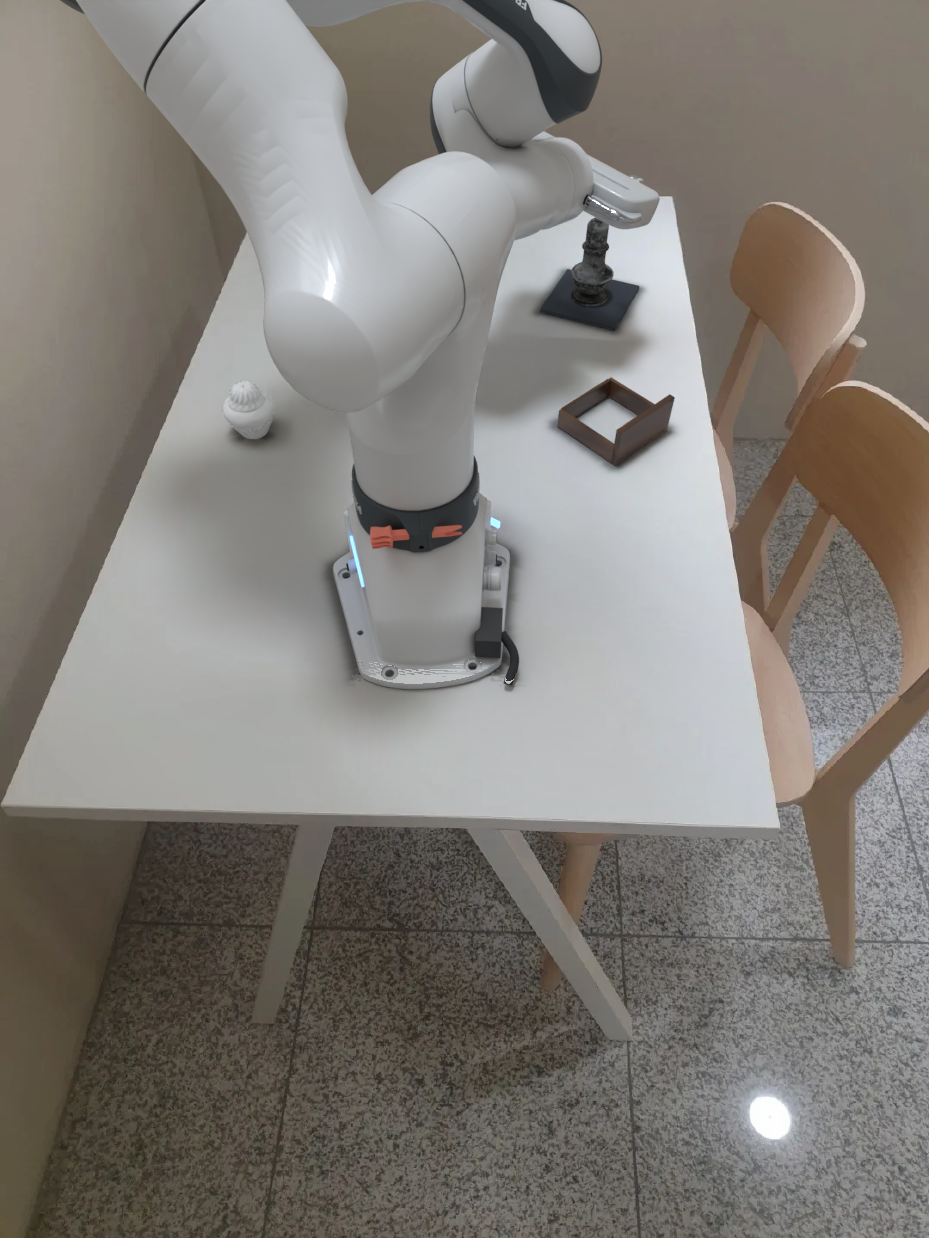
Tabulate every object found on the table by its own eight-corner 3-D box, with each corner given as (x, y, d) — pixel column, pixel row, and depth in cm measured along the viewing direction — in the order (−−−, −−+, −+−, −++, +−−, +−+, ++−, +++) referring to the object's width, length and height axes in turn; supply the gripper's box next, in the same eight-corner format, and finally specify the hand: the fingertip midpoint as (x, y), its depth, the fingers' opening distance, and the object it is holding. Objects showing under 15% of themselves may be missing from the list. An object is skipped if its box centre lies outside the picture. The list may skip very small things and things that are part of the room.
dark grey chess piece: (562, 288, 120) (570, 205, 110) (600, 281, 121) (611, 198, 111) (578, 311, 116) (587, 227, 107) (617, 303, 117) (630, 219, 108)
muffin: (269, 451, 101) (257, 404, 95) (221, 444, 102) (207, 397, 96) (287, 418, 104) (276, 371, 99) (241, 411, 105) (227, 364, 100)
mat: (614, 331, 115) (615, 327, 114) (539, 312, 117) (539, 308, 117) (638, 289, 121) (639, 285, 120) (567, 272, 123) (567, 268, 123)
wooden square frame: (556, 426, 103) (559, 392, 99) (608, 392, 107) (613, 359, 103) (615, 466, 99) (621, 433, 95) (667, 430, 102) (675, 397, 98)
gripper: (640, 196, 91) (687, 178, 100) (490, 115, 96) (548, 105, 105) (617, 252, 96) (664, 230, 105) (474, 172, 100) (532, 157, 109)
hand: (605, 167), depth 105 cm, fingers open, 8 cm apart
